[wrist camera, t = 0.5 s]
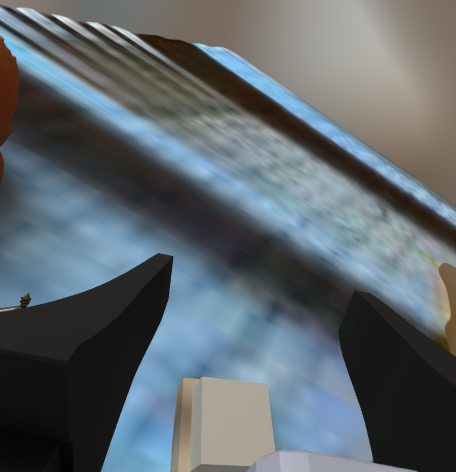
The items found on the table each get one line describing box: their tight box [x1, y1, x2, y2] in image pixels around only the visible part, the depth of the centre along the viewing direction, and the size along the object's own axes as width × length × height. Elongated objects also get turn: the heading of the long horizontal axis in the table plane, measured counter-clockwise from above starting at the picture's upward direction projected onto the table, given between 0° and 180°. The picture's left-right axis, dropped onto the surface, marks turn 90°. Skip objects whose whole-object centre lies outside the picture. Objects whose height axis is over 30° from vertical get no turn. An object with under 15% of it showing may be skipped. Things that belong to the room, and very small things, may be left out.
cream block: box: [189, 377, 275, 472], centre depth 24 cm, size 6×6×2 cm
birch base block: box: [170, 378, 199, 472], centre depth 25 cm, size 7×7×2 cm
